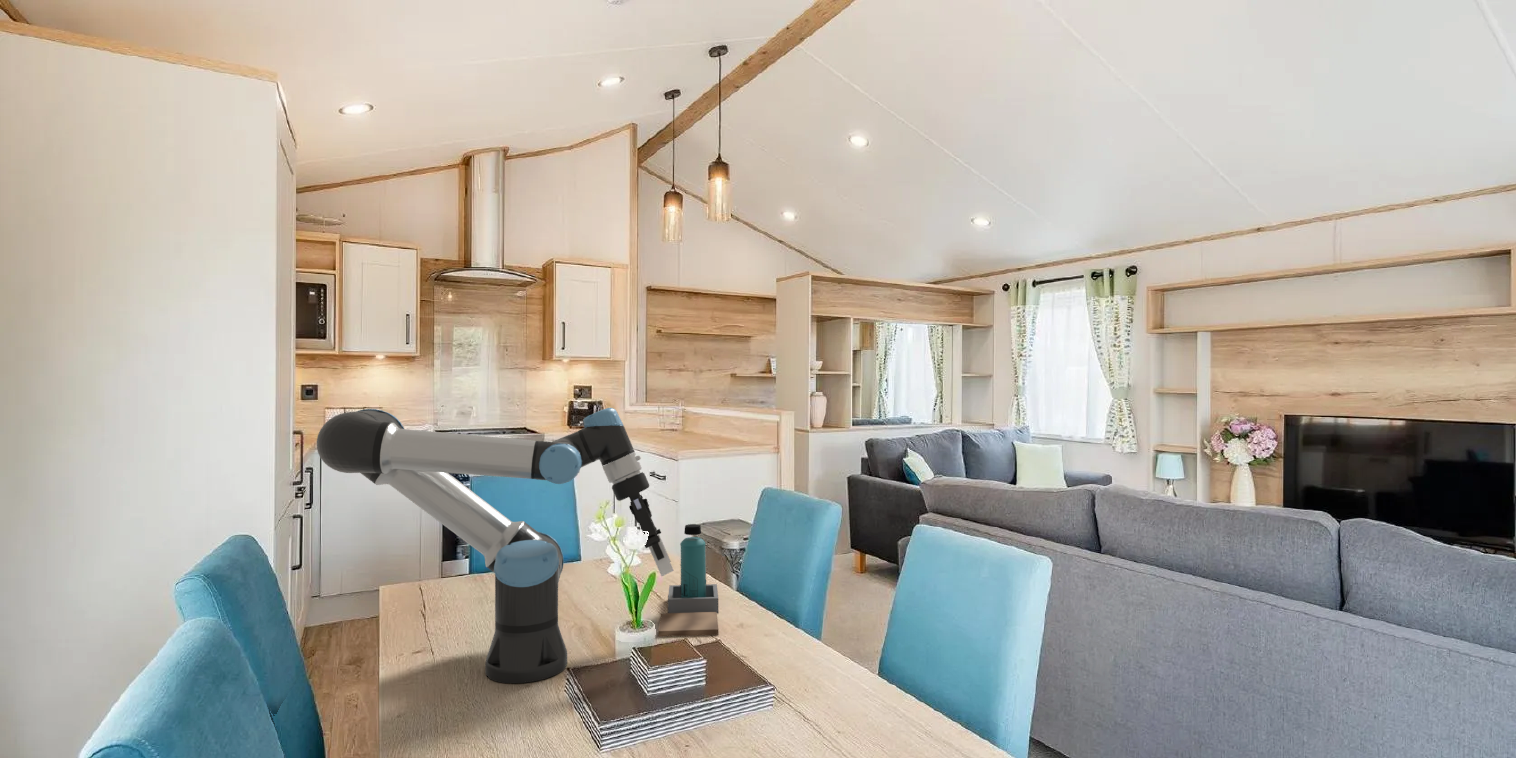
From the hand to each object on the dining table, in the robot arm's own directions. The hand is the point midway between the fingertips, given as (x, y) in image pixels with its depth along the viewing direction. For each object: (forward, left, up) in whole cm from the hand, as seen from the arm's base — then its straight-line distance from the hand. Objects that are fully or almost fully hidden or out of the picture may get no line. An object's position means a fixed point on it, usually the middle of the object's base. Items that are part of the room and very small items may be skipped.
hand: (666, 568), depth 156 cm
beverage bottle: (+6, +23, -15) cm, 28 cm away
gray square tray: (+6, +23, -15) cm, 28 cm away
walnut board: (+5, +8, -15) cm, 18 cm away
